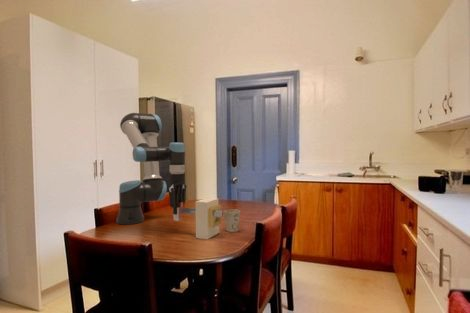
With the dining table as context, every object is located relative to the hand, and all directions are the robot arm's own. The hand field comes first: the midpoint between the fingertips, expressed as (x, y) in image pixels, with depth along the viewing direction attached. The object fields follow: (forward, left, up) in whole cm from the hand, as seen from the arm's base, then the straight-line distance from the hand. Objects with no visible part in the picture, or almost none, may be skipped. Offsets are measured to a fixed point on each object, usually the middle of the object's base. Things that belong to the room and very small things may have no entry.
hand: (177, 219), depth 148 cm
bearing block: (+17, 0, -6) cm, 18 cm away
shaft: (+11, 0, +1) cm, 11 cm away
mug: (+23, +14, -6) cm, 27 cm away
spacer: (+21, 0, -1) cm, 21 cm away
